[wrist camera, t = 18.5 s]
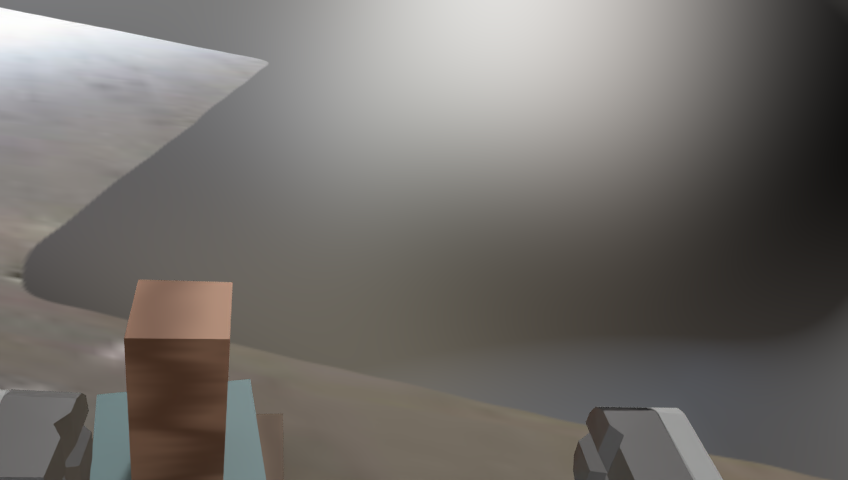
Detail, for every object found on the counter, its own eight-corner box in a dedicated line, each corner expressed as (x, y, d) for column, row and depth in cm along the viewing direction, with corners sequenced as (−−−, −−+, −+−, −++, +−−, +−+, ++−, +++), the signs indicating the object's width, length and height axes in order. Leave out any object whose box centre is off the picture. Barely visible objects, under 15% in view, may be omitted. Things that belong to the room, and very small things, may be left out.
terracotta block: (225, 432, 46) (232, 282, 40) (222, 495, 42) (229, 339, 36) (143, 434, 44) (138, 279, 38) (132, 499, 40) (123, 338, 34)
